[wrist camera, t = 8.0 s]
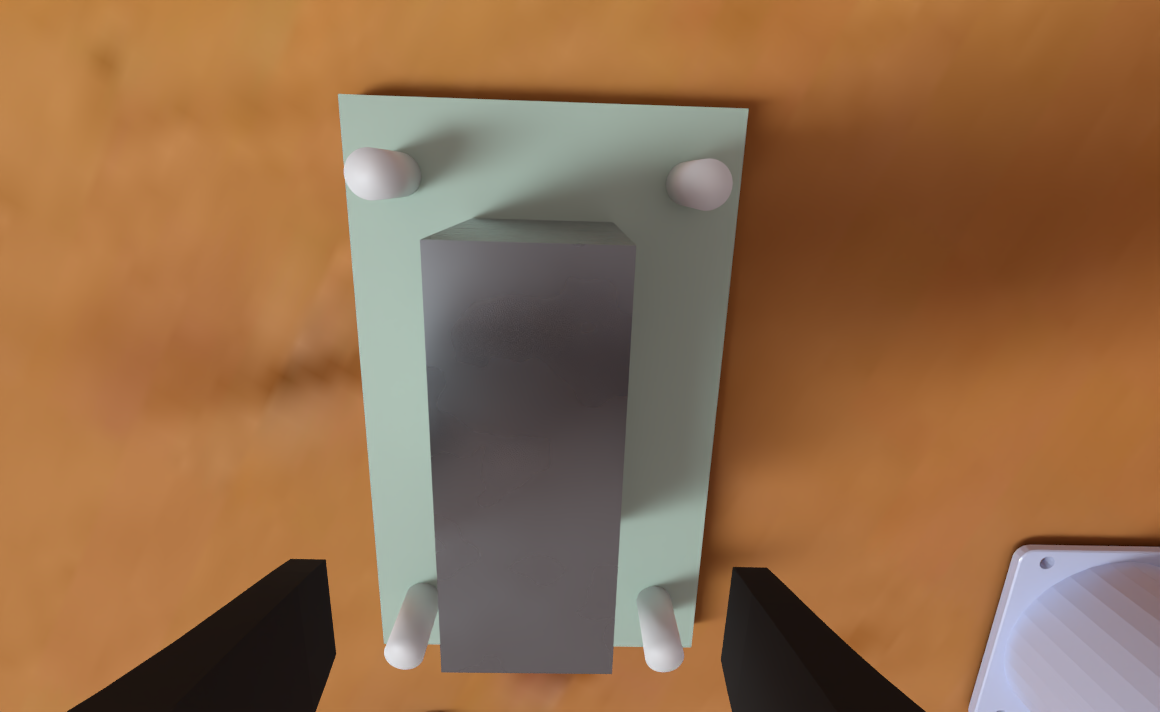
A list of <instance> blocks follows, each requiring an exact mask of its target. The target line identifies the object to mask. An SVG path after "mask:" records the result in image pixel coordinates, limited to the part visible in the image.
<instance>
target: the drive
mask: <svg viewBox="0 0 1160 712" xmlns="http://www.w3.org/2000/svg"><path fill="white" fill-rule="evenodd" d="M420 252H421V272H422V292H423V312H424V332H425V352H426V372H427V392H428V412H429V432H430V452H431V472H432V492H433V512H434V531H435V551H436V571H437V591H438V611H439V631H440V651H441V671H442V672H466V673H571V674H612V662H613V645H614V627H615V610H616V593H617V575H618V558H619V540H620V523H621V505H622V488H623V471H624V453H625V436H626V418H627V401H628V383H629V366H630V348H631V331H632V314H633V296H634V279H635V261H636V245H635V244H634V243H633V242H632V241H631V240H630V239H629V238H628V237H627V236H626V235H625V234H624V233H623V232H622V231H621V230H620V229H619V228H618V227H617V226H616V224H615V223H614V222H590V221H556V220H522V219H488V218H471V219H469V220H466V221H464V222H461V223H459V224H456V225H454V226H452V227H449V228H447V229H444V230H442V231H439V232H437V233H435V234H432V235H430V236H427V237H425V238H423V239H420Z"/></svg>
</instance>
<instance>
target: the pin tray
mask: <svg viewBox="0 0 1160 712" xmlns="http://www.w3.org/2000/svg"><path fill="white" fill-rule="evenodd" d="M338 101H339V113H340V124H341V136H342V148H343V160H344V177H345V184H346V196H347V208H348V220H349V232H350V244H351V256H352V268H353V280H354V292H355V304H356V316H357V327H358V339H359V351H360V363H361V375H362V387H363V399H364V411H365V423H366V435H367V447H368V459H369V471H370V483H371V495H372V507H373V519H374V531H375V542H376V554H377V566H378V578H379V590H380V602H381V614H382V626H383V638H384V644H386V647H385V650H384V655H385V658H386V660H387V661H388V663H389V664H391V665H392V666H394V667H396V668H399V669H412V668H415V667H417V666H418V665H419V664H420V663H421V662H422V660H423V658H424V654H425V651H426V648H427V645H428V644H440V631H439V611H438V591H437V571H436V551H435V531H434V512H433V492H432V472H431V452H430V432H429V412H428V392H427V372H426V352H425V332H424V312H423V292H422V272H421V252H420V239H423V238H425V237H427V236H430V235H432V234H435V233H437V232H439V231H442V230H444V229H447V228H449V227H452V226H454V225H456V224H459V223H461V222H464V221H466V220H469V219H471V218H488V219H522V220H556V221H590V222H614V223H615V224H616V226H617V227H618V228H619V229H620V230H621V231H622V232H623V233H624V234H625V235H626V236H627V237H628V238H629V239H630V240H631V241H632V242H633V243H634V244H635V245H636V261H635V279H634V296H633V314H632V331H631V348H630V366H629V383H628V401H627V418H626V436H625V453H624V471H623V488H622V505H621V523H620V540H619V558H618V575H617V593H616V610H615V627H614V645H613V646H626V647H644V653H645V660H646V663H647V665H648V666H649V667H650V668H651V669H653V670H655V671H658V672H669V671H672V670H675V669H676V668H678V667H679V666H680V665H681V663H682V662H683V659H684V652H683V648H682V647H691V644H692V635H693V625H694V616H695V607H696V597H697V588H698V578H699V569H700V560H701V550H702V541H703V532H704V522H705V513H706V504H707V494H708V485H709V476H710V466H711V457H712V448H713V438H714V429H715V419H716V410H717V401H718V391H719V382H720V373H721V363H722V354H723V345H724V335H725V326H726V317H727V307H728V298H729V288H730V279H731V270H732V260H733V251H734V242H735V232H736V223H737V214H738V204H739V195H740V186H741V176H742V167H743V158H744V148H745V139H746V129H747V120H748V111H749V109H747V108H718V107H690V106H662V105H634V104H605V103H577V102H549V101H520V100H492V99H464V98H436V97H407V96H379V95H351V94H338Z"/></svg>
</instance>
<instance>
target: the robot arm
mask: <svg viewBox="0 0 1160 712" xmlns="http://www.w3.org/2000/svg"><path fill="white" fill-rule="evenodd" d="M1043 558H1044V559H1043ZM1042 559H1043V560H1042ZM1041 560H1042V561H1041ZM335 656H336V649H335V640H334V631H333V622H332V613H331V604H330V595H329V586H328V577H327V568H326V560H315V559H290V560H289V561H287V562H285V563H284V564H282V565H281V566H279V567H278V568H277V569H275V570H274V571H272V572H271V573H269V574H268V575H267V576H265V577H264V578H262V579H261V580H260V581H258V582H257V583H255V584H254V585H253V586H251V587H250V588H249V589H247V590H246V591H244V592H243V593H242V594H240V595H239V596H238V597H236V598H235V599H233V600H232V601H231V602H229V603H228V604H227V605H225V606H224V607H222V608H221V609H220V610H218V611H217V612H215V613H214V614H213V615H211V616H210V617H208V618H207V619H206V620H204V621H203V622H201V623H200V624H199V625H197V626H196V627H194V628H193V629H192V630H190V631H189V632H187V633H186V634H185V635H183V636H182V637H180V638H179V639H178V640H176V641H175V642H173V643H172V644H170V645H169V646H167V647H166V648H164V649H163V650H161V651H160V652H158V653H157V654H155V655H154V656H152V657H151V658H149V659H148V660H146V661H145V662H143V663H142V664H140V665H139V666H137V667H136V668H134V669H133V670H131V671H130V672H128V673H127V674H125V675H124V676H122V677H121V678H119V679H118V680H116V681H115V682H113V683H112V684H110V685H109V686H107V687H106V688H104V689H103V690H101V691H99V692H98V693H96V694H95V695H93V696H91V697H90V698H88V699H87V700H85V701H83V702H82V703H80V704H78V705H77V706H75V707H74V708H72V709H70V710H69V711H67V712H315V711H316V709H317V706H318V703H319V701H320V698H321V695H322V693H323V690H324V688H325V685H326V682H327V679H328V676H329V673H330V670H331V667H332V665H333V662H334V659H335ZM721 662H722V667H723V672H724V677H725V682H726V686H727V691H728V696H729V700H730V704H731V709H732V712H926V711H924V710H923V709H922V708H921V707H919V706H918V705H917V704H916V703H914V702H913V701H912V700H911V699H910V698H908V697H907V696H906V695H905V694H904V693H902V692H901V691H900V690H899V689H898V688H897V687H895V686H894V685H893V684H892V683H891V682H889V681H888V680H887V679H886V678H885V677H883V676H882V675H881V674H880V673H879V672H878V671H876V670H875V669H874V668H873V667H872V666H871V665H870V664H869V663H867V662H866V661H865V660H864V659H863V658H862V657H861V656H860V655H858V654H857V653H856V652H855V651H854V650H853V649H852V648H851V647H850V646H849V645H847V644H846V643H845V642H844V641H843V640H842V639H841V638H840V637H839V636H838V635H837V634H836V633H834V632H833V631H832V630H831V629H830V628H829V627H828V626H827V625H826V624H825V623H824V622H823V621H822V620H821V619H820V618H819V617H818V616H817V615H816V614H815V613H813V612H812V611H811V610H810V609H809V608H808V607H807V606H806V605H805V604H804V603H803V602H802V601H801V600H800V599H799V598H798V597H797V596H796V595H795V594H794V593H793V592H792V591H791V590H790V589H789V588H788V587H787V586H786V585H785V584H784V583H783V582H782V581H781V580H779V579H778V578H777V577H776V576H775V575H774V574H773V573H772V572H771V571H770V570H769V569H768V568H753V567H733V570H732V578H731V586H730V594H729V601H728V609H727V617H726V625H725V632H724V640H723V648H722V656H721ZM968 711H969V712H1160V547H1144V546H1083V545H1024V546H1022V547H1020V548H1018V549H1017V550H1016V551H1015V552H1014V554H1013V556H1012V560H1011V563H1010V567H1009V570H1008V573H1007V577H1006V580H1005V584H1004V587H1003V591H1002V594H1001V598H1000V601H999V604H998V608H997V611H996V615H995V618H994V622H993V625H992V629H991V632H990V635H989V639H988V642H987V646H986V649H985V653H984V656H983V660H982V663H981V666H980V670H979V673H978V677H977V680H976V684H975V687H974V691H973V694H972V698H971V701H970V704H969V710H968Z"/></svg>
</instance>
